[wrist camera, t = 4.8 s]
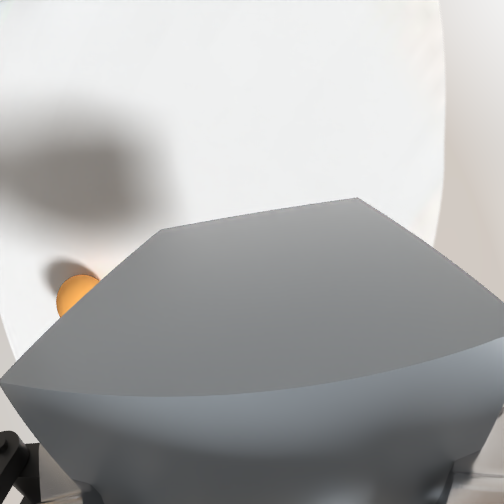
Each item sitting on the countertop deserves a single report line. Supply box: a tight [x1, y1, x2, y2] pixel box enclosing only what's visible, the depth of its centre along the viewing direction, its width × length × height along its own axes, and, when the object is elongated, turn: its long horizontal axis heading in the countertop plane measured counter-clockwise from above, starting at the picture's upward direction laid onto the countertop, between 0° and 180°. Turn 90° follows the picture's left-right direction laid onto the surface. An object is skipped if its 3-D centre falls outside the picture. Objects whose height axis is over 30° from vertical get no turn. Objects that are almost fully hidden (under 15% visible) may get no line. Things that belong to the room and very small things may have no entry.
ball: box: [56, 275, 100, 318], centre depth 25 cm, size 5×5×5 cm
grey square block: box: [0, 198, 504, 504], centre depth 8 cm, size 7×7×9 cm
